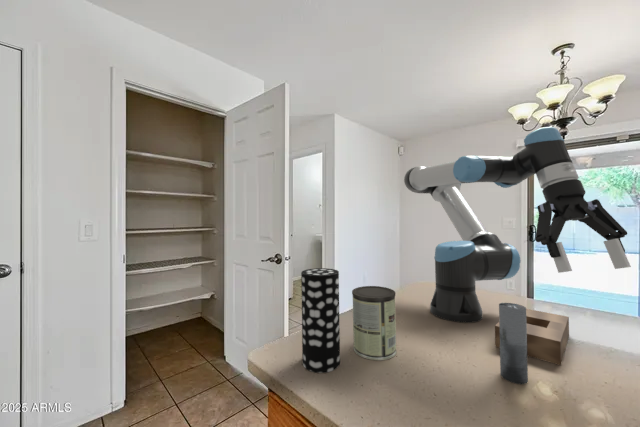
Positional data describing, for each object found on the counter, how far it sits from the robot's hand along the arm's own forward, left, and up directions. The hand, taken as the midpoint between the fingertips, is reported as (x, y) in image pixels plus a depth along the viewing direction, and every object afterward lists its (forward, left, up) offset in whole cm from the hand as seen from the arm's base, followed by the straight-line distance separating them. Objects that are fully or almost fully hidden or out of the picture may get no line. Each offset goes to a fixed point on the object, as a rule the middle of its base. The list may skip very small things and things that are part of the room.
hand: (594, 270), depth 61 cm
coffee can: (-37, -32, -20) cm, 53 cm away
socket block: (-11, 0, -19) cm, 22 cm away
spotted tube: (-42, -45, -20) cm, 65 cm away
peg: (-11, -22, -19) cm, 31 cm away
